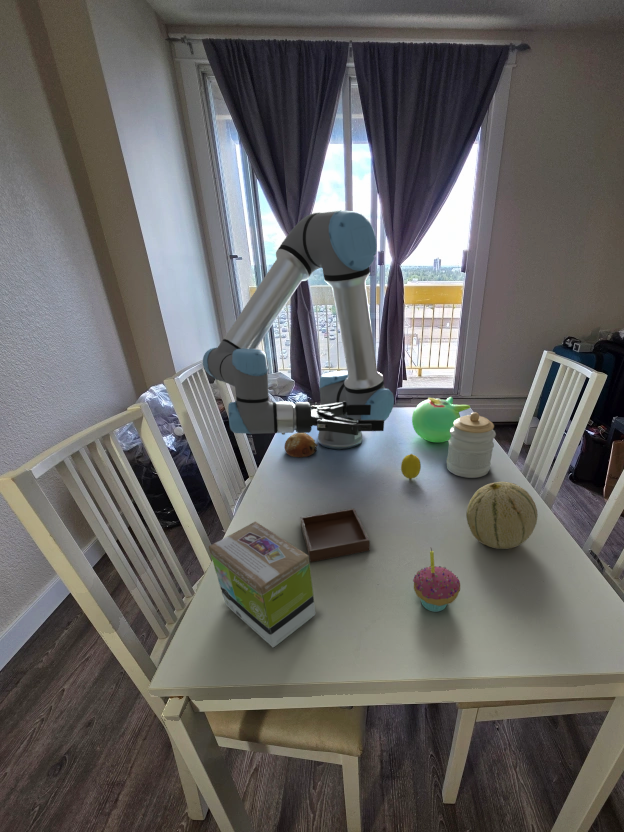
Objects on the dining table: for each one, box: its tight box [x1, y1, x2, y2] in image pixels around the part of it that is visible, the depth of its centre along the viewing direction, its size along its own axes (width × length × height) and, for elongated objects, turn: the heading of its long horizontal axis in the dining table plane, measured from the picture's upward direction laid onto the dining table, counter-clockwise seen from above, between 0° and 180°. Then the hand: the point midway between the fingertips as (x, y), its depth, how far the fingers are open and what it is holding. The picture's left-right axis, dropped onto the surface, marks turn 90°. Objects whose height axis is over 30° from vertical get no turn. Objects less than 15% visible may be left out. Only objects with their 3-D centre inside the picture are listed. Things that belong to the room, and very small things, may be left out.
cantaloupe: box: [466, 481, 538, 550], centre depth 89 cm, size 15×15×15 cm
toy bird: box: [411, 396, 471, 444], centre depth 138 cm, size 18×17×15 cm
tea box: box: [208, 521, 316, 648], centre depth 71 cm, size 15×10×15 cm, turn 49°
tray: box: [299, 507, 371, 563], centre depth 93 cm, size 13×13×3 cm
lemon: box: [400, 453, 422, 480], centre depth 115 cm, size 6×6×8 cm
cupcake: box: [412, 547, 461, 613], centre depth 74 cm, size 9×8×12 cm
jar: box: [446, 411, 497, 479], centre depth 118 cm, size 13×13×18 cm
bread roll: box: [284, 432, 319, 458], centre depth 132 cm, size 10×10×8 cm
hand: (376, 417), depth 107 cm, fingers open, 13 cm apart
